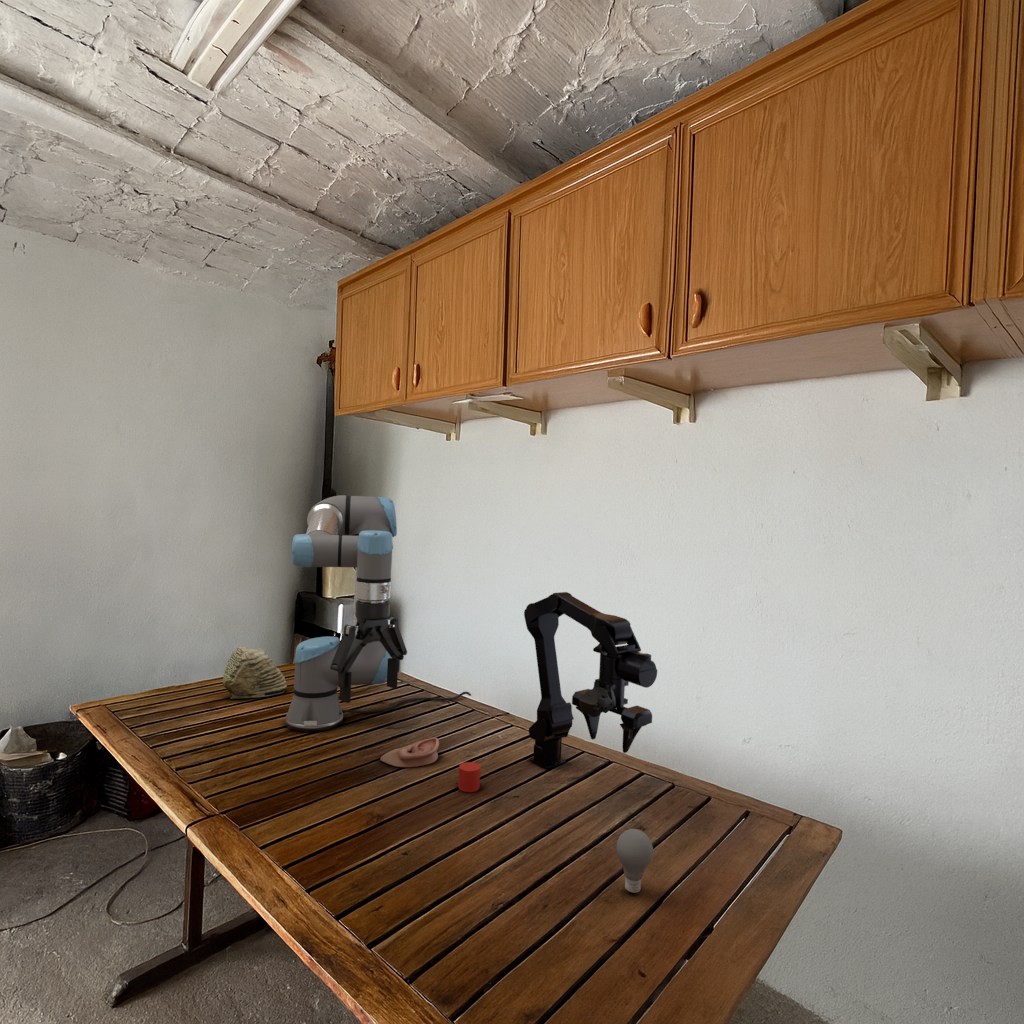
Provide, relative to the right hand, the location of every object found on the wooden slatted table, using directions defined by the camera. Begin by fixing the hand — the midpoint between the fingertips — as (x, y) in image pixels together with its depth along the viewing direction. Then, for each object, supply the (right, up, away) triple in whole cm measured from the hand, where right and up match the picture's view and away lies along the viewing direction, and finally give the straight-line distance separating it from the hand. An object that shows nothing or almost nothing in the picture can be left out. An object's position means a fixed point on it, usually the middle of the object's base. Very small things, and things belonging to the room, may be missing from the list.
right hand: (608, 745), depth 140 cm
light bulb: (-1, -12, -35) cm, 37 cm away
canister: (-31, -10, +1) cm, 33 cm away
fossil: (-102, -6, +58) cm, 117 cm away
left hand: (-54, +11, +2) cm, 55 cm away
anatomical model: (-47, -9, +15) cm, 49 cm away
